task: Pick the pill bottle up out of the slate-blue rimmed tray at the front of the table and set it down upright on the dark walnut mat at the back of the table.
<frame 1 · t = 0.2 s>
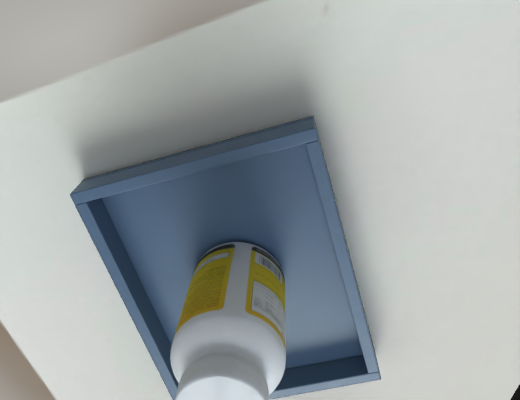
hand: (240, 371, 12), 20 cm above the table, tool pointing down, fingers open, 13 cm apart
pill bottle: (240, 275, 35), resting on tray
tray: (240, 274, 35), on the table
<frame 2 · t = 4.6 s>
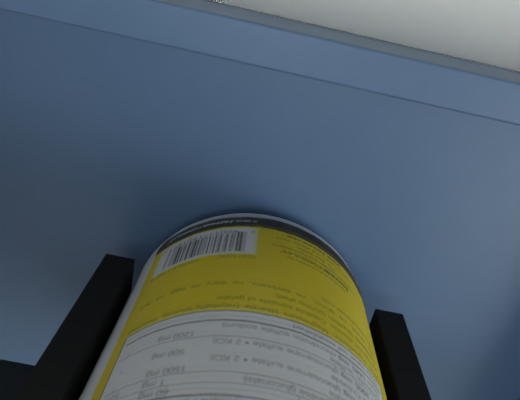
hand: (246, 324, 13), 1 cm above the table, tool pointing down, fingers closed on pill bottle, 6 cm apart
pill bottle: (249, 297, 15), resting on tray, touching gripper
tray: (250, 293, 15), on the table
when the fingers open (2 cm above the table, at t = 14.4 s): pill bottle stays where it is, resting on mat.
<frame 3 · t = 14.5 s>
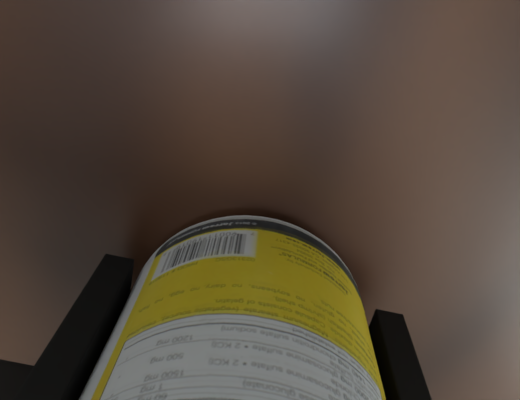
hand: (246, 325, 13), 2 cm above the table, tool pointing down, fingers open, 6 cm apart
mat: (249, 292, 15), on the table
pill bottle: (249, 299, 14), resting on mat
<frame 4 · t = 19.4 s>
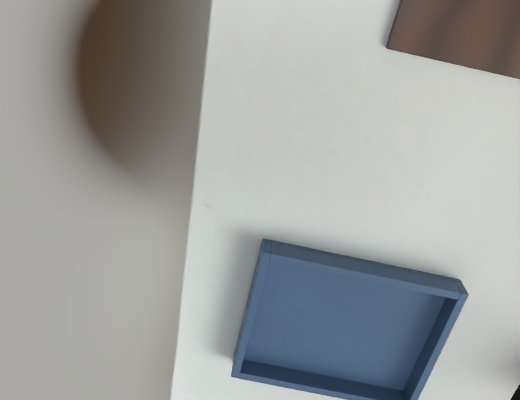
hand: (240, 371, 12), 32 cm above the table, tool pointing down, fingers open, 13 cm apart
tray: (340, 322, 50), on the table
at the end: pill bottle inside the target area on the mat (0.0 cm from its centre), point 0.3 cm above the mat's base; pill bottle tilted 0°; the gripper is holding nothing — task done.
